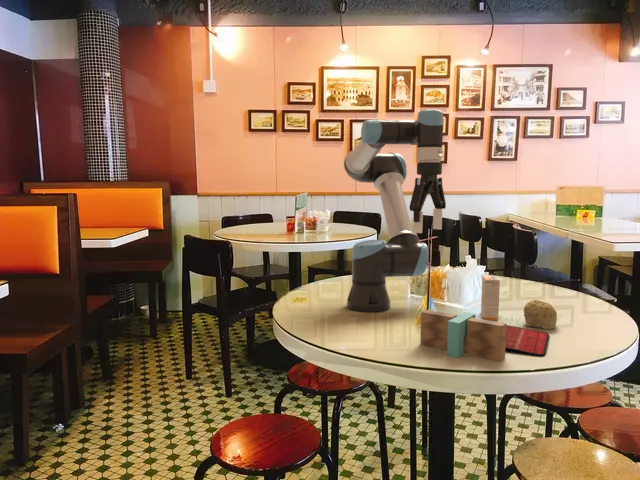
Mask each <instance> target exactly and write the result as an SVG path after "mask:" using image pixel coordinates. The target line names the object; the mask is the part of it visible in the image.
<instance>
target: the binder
mask: <svg viewBox="0 0 640 480" xmlns="http://www.w3.org/2000/svg"><path fill="white" fill-rule="evenodd" d="M549 339H550V333H548V332H546V331H540V330H535V329H530V328H529V329H528V328H525V327H519V326H513V325H510V324H506V347H505V353H511V354H517V355H524V356H532V357H541V358H542V357H545V356H546V354H547V349H548V344H549Z"/></svg>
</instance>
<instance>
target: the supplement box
mask: <svg viewBox="0 0 640 480" xmlns="http://www.w3.org/2000/svg"><path fill="white" fill-rule="evenodd" d="M481 279H482V280H481V300H480V301H481V302H480V303H481V304H480V314H481V316H482V319H484V320H489V321H498V320H499V310H500V309H499V307H500V284H501V280H500V278H499V277H498V275H487V274H486V275H482V276H481Z"/></svg>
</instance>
